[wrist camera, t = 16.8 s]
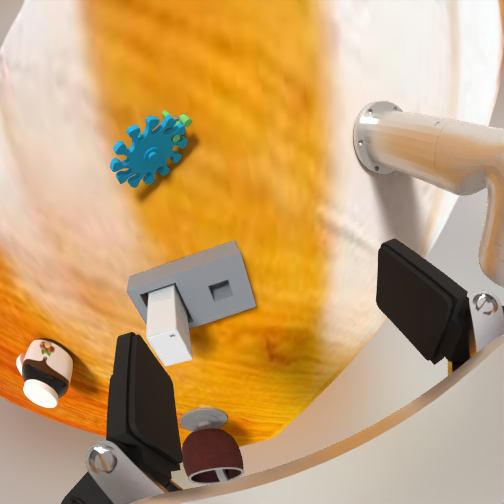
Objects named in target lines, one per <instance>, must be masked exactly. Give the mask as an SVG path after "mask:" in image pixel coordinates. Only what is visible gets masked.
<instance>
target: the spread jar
mask: <svg viewBox="0 0 504 504" xmlns="http://www.w3.org/2000/svg"><path fill="white" fill-rule="evenodd" d="M17 367H18V369H19V371H20V373H21V375H22V376H23V379H24V382H25V385H24V388H23V391H24V393H25V395H26V396H27V397H28V398H29V399H30V400H31V401H33V402H34V403H36V404H38V405H40V406H43V407H46V408H54V407H56V406H57V402H58V399H59V398H61V397H63V396H64V395H65V394H66V392H67V390H68V388H69V385H70V381H71V377H72V371H73V360H72V358H71V356H70V354H69V353H68V351H67V350H66V349H65V348H64V347H63V346H62V345H61V344H59V343H58V342H56V341H54V340H51V339H46V338H40V339H36V340H34V341H33V342H32V343H31V344H30V346H29V348H28V350H27V352H26V353H22V354H21V355H20V356H19V357H18V358H17Z"/></svg>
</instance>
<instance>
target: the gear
mask: <svg viewBox="0 0 504 504" xmlns="http://www.w3.org/2000/svg"><path fill="white" fill-rule="evenodd" d="M162 115H163V116H164V119H163V121H162V123H161V124H160V125H159V126H158V127H157V128H156V129H155V130H153V129H154V128H155V127H156V126H157V125H158V124H159V119H158V118H157V117H156V116H148V117H147V118H146V127H145V130H144V132H143V134H142V135H141V134H140V129H139V127H138V126H137V125H133V126H131V127H129V128H127V130H126V132H127V134H128V135H129V136H130V137H131V138H132V145H131V147H130V148H128V149H126V146H125V144H124V143H123V142H122V141H118V142H117V143H116V144H115V146H114V147H113V150H114V151H115V153H116V154H117V155H126V156H127V159H126V160H125V161H120V160H119V159H117V158H114V159H112V161H111V164H110V168H111V169H112V171H113V172H116V171H118V170H120V169H123V168H129V169H128V170H127V171H119V172H117V173H116V177H117V179H118V181H119V182H120V184H122V183H124V182H125V181H126V180H127V179H128V178H129V177H130V178H129V179H128V183H129V185H130V186H131V187H134V188H136V187H137V186H138V185H139V182H140V180H141V179H142V178H143V177H144V178H143V181H144V182H145V184H152V183H153V182H154V181H155V179H154V175H155V172H156V171H157V169H158V168H159V169H158V171H159V173H160V174H161V175H162V176H164V175H166V174H168V173H169V172H170V169H169V168H168V167H167V165H166V162H167V159H168V158H169V157H170V158H171V160H172V161H173V162H174V163H177V162H178V161H179V160H180V159H181V158H182V156H181V154H180V153H179V152H177V151H172V148H173V147H174V146H175V145H178V146H179V147H180V148H185V146H186V145H187V142H188V140H187V139H186V138H185V137H183V136H182V137H180V135H183V134H184V133H185V126H186V127H188V126H190V125H191V123H192V120H191V119H190V118H189V117H188V116H187V115H186V114H182V115H181V116H180V117H179V118H178V117H177V116H174V117H172V116H171V115H170V114H169V113H168V112H167V111H164V112H163V113H162ZM152 130H153V131H152ZM134 174H136V175H135V176H132V175H134ZM131 176H132V177H131Z"/></svg>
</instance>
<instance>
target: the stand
mask: <svg viewBox="0 0 504 504" xmlns="http://www.w3.org/2000/svg"><path fill="white" fill-rule="evenodd" d="M173 283H176V285H177V287H178V290H179V292H180V294H181V296H182V298H183V300H184V302H185V304H186V309H187V318H188V326H189V329H191V328H194V327H197V326H200V325H203V324H206V323H209V322H212V321H215V320H218V319H221V318H224V317H227V316H230V315H233V314H236V313H239V312H242V311H245V310H248V309H250V308H253V307H256V303H255V300H254V297H253V293H252V290H251V286H250V283H249V279H248V276H247V273H246V269H245V266H244V262H243V259H242V255H241V252H240V250H239V248H238V246H237V244H236V242H235V240H234V241H231V242H228V243H226V244H223V245H220V246H217V247H214V248H211V249H208V250H205V251H202V252H199V253H196V254H193V255H190V256H187V257H184V258H181V259H178V260H176V261H173V262H170V263H167V264H164V265H161V266H158V267H155V268H152V269H150V270H147V271H144V272H141V273H138V274H135V275H132V276H130V277H129V282H128V287H127V293H128V294H129V296H130V298H131V300H132V301H133V303H134V305H135V307H136V308H137V310H138V312H139V313H140V315H141V317H142V318H143V320H144V322H145V323H146V325H147V311H148V295H149V291H152V290H155V289H158V288H161V287H164V286H167V285H170V284H173Z"/></svg>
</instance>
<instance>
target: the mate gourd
mask: <svg viewBox="0 0 504 504" xmlns="http://www.w3.org/2000/svg"><path fill="white" fill-rule="evenodd" d="M226 422H227V415H226V413H225V412H224V411H222V410H220V409H216V408H199V409H194V410H191V411H188V412H187V413H185V414H183V415H182V417H181V418H180V424H181V426H182V427H183V428H185V429H187V430H190V431H195V432H192V433H191V434H189V436H188V437H187V438H186V440H185V441H184V443H183V447H182V457H183V464H184V468H185V471H186V474H187V476H188V479H189V481H191V482H193V483H198V484H215V483H220V482H225V481H229V480H233V479H236V478H238V477H240V476H242V475H243V473H244V470H243V460H242V456H241V453H240V449H239V447H238V445H237V443H236V441H235V440H234V438H233V437H232V436H231V435H229V434H228V433H227V432H225V431H224V430H221V429H217V428H219V427H221V426H223V425H224V424H225V423H226Z"/></svg>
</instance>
